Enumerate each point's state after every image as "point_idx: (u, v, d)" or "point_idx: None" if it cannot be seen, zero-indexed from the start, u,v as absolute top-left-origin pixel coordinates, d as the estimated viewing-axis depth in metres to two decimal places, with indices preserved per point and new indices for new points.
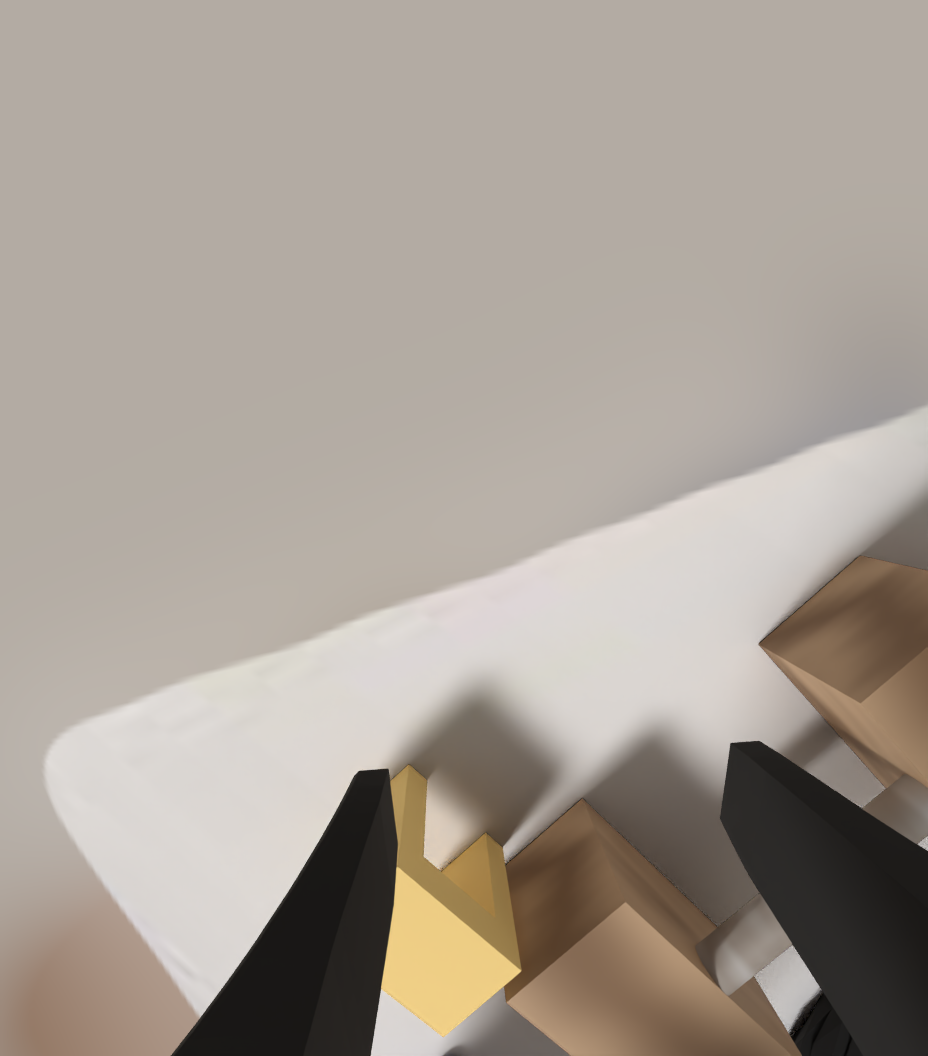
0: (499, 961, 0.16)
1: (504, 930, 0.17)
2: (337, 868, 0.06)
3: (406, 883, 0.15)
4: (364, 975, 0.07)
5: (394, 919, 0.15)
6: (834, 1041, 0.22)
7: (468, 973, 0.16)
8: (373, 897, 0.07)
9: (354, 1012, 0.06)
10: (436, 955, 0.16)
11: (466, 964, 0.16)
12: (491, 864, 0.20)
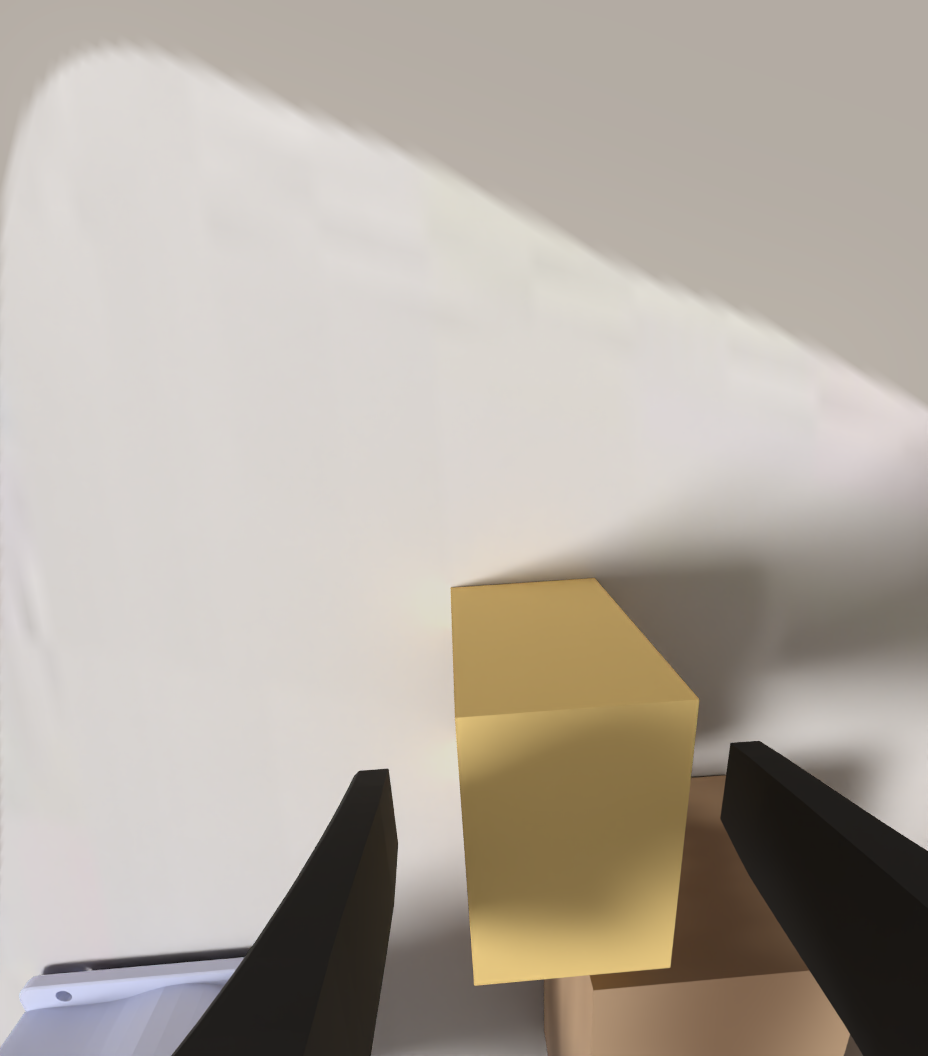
0: (661, 936, 0.09)
1: None
2: (337, 868, 0.07)
3: (680, 736, 0.07)
4: (364, 975, 0.07)
5: (599, 777, 0.08)
6: None
7: (604, 925, 0.08)
8: (373, 897, 0.07)
9: (354, 1012, 0.06)
10: (593, 873, 0.08)
11: (616, 912, 0.08)
12: None
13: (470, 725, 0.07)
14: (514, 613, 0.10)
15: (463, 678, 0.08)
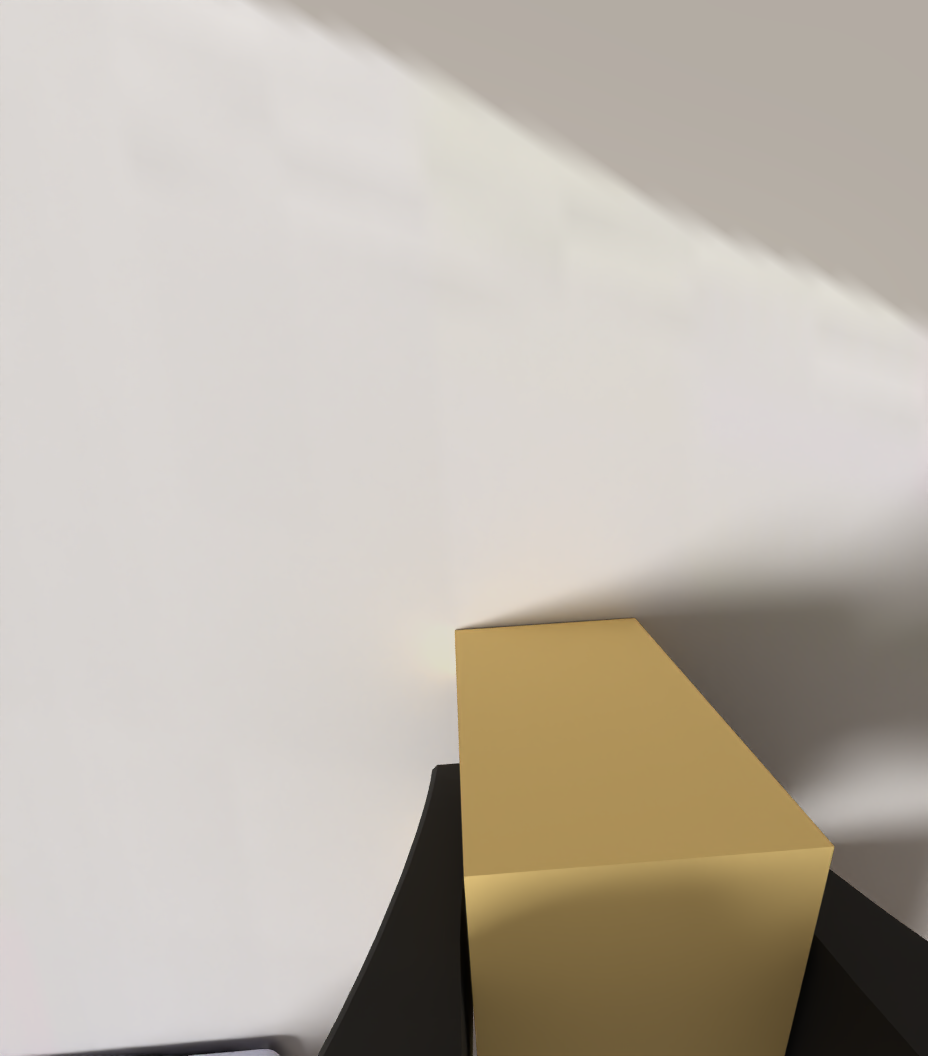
0: None
1: None
2: (443, 859, 0.07)
3: (800, 896, 0.05)
4: (468, 966, 0.07)
5: (675, 949, 0.05)
6: None
7: None
8: None
9: (467, 1002, 0.06)
10: None
11: None
12: None
13: (487, 886, 0.05)
14: (538, 673, 0.08)
15: (474, 791, 0.06)
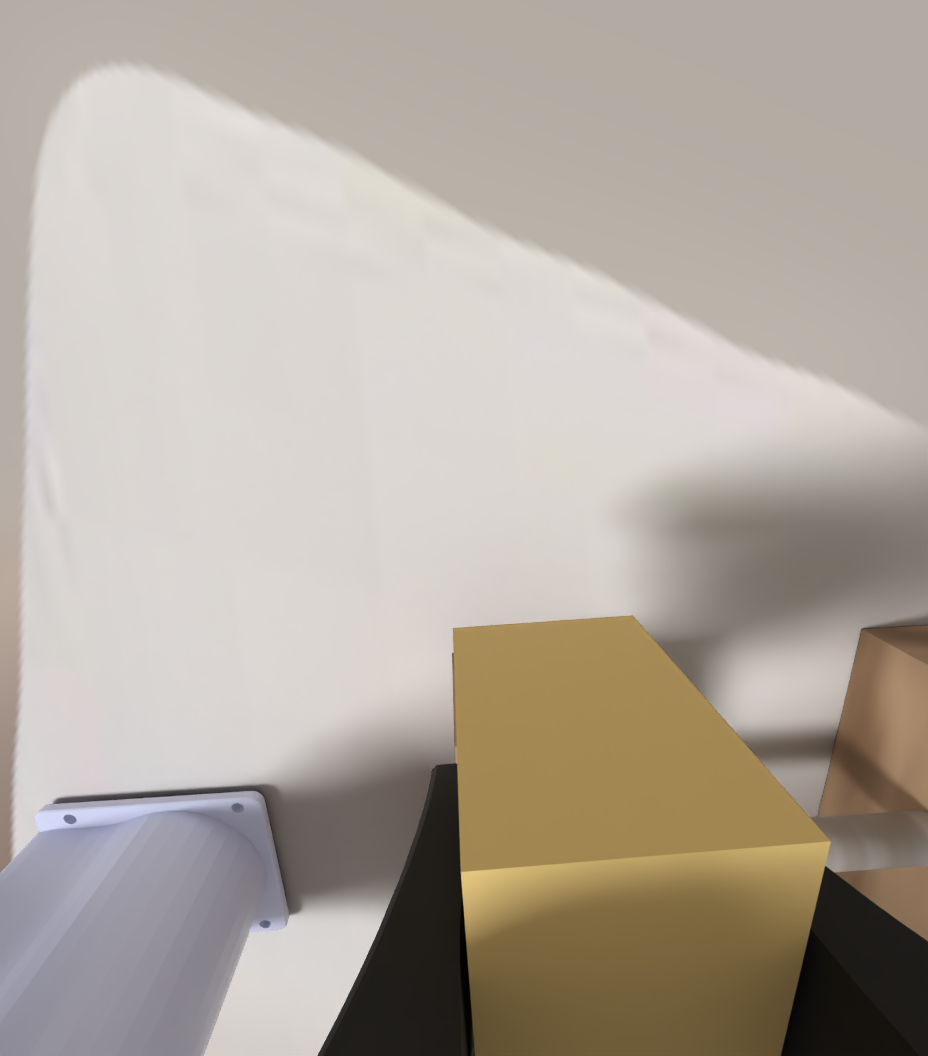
0: None
1: None
2: (443, 860, 0.07)
3: (797, 890, 0.05)
4: None
5: (672, 945, 0.05)
6: None
7: None
8: None
9: (467, 1002, 0.06)
10: None
11: None
12: None
13: (484, 882, 0.05)
14: (536, 670, 0.08)
15: (472, 788, 0.06)
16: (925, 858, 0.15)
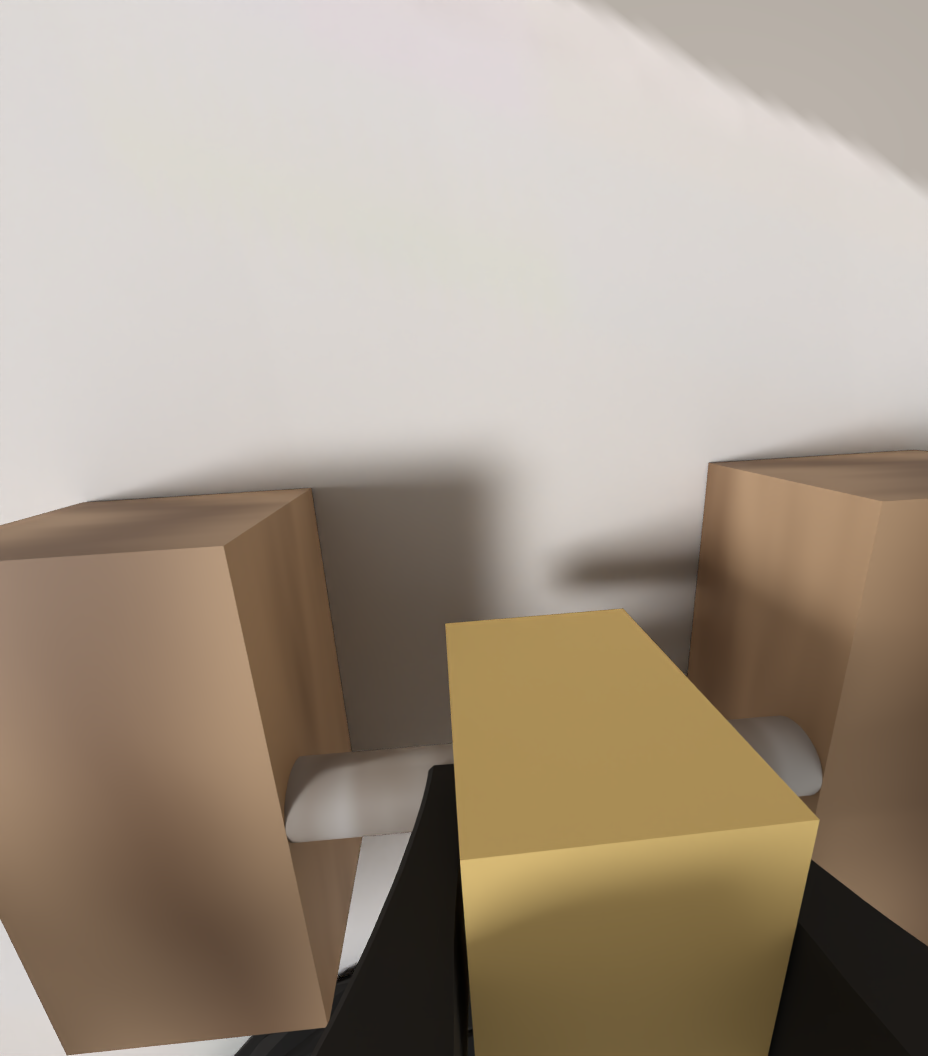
0: None
1: None
2: (438, 860, 0.07)
3: (787, 869, 0.05)
4: (463, 967, 0.07)
5: (668, 927, 0.05)
6: None
7: None
8: None
9: (461, 1003, 0.06)
10: (652, 1046, 0.06)
11: None
12: None
13: (483, 869, 0.05)
14: (529, 663, 0.08)
15: (468, 778, 0.06)
16: None
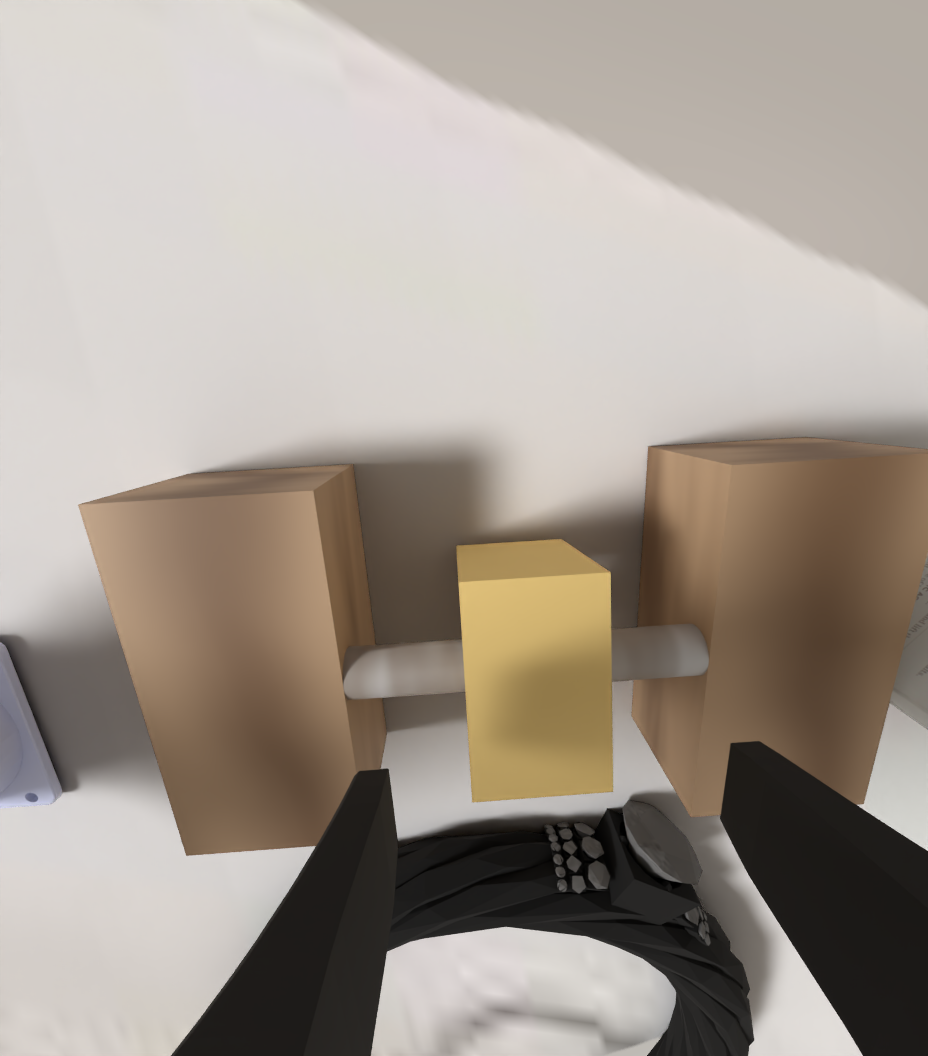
0: (604, 762, 0.12)
1: None
2: (337, 868, 0.07)
3: (601, 598, 0.12)
4: (364, 975, 0.07)
5: (551, 628, 0.12)
6: (404, 869, 0.20)
7: (563, 751, 0.12)
8: (373, 897, 0.07)
9: (354, 1012, 0.06)
10: (552, 705, 0.12)
11: (570, 739, 0.12)
12: None
13: (468, 587, 0.11)
14: (500, 552, 0.15)
15: (464, 572, 0.12)
16: (671, 663, 0.13)
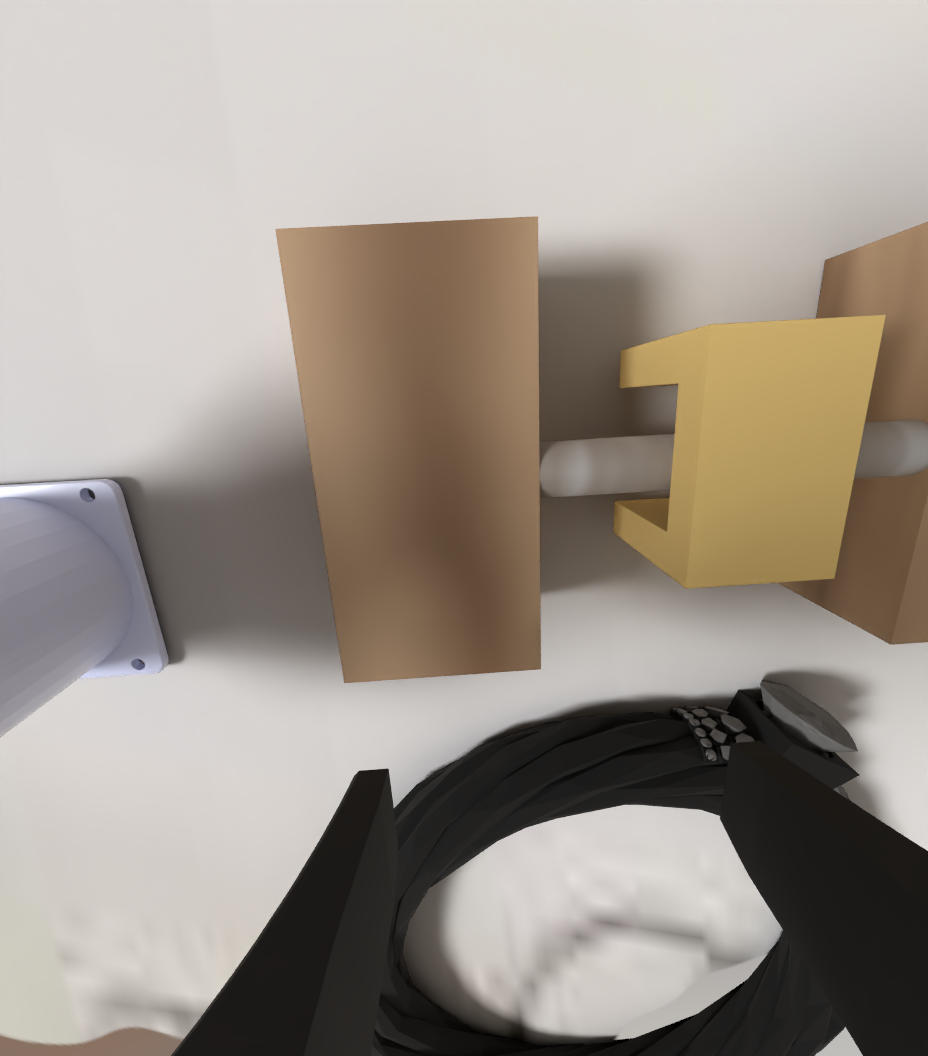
0: (831, 546, 0.11)
1: None
2: (337, 868, 0.06)
3: (868, 349, 0.10)
4: (364, 975, 0.07)
5: (804, 386, 0.10)
6: (534, 745, 0.18)
7: (790, 532, 0.11)
8: (373, 897, 0.07)
9: (354, 1012, 0.06)
10: (788, 479, 0.11)
11: (800, 519, 0.11)
12: None
13: (720, 331, 0.10)
14: None
15: None
16: (897, 451, 0.12)
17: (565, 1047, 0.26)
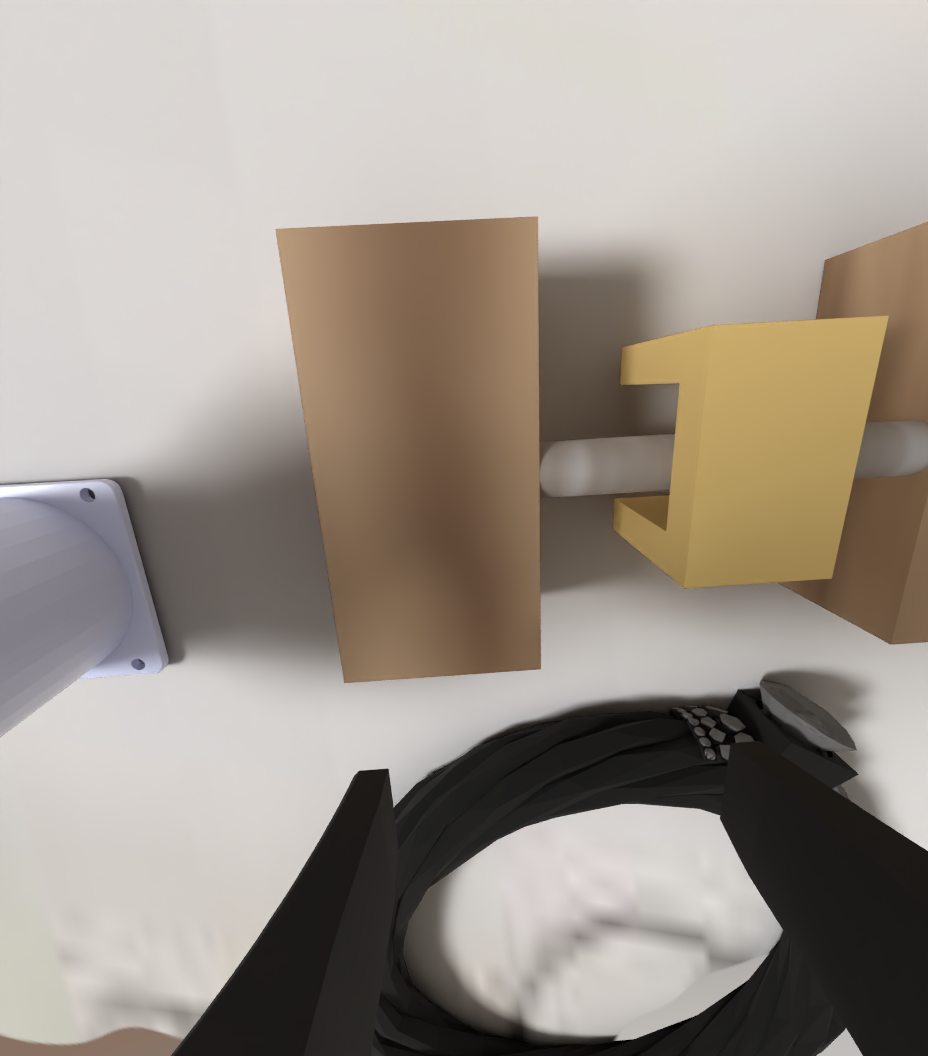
0: (829, 547, 0.11)
1: None
2: (337, 868, 0.06)
3: (870, 350, 0.10)
4: (364, 975, 0.07)
5: (805, 387, 0.10)
6: (533, 744, 0.18)
7: (789, 533, 0.11)
8: (373, 897, 0.07)
9: (354, 1012, 0.06)
10: (788, 480, 0.11)
11: (799, 520, 0.11)
12: None
13: (722, 332, 0.10)
14: None
15: None
16: (897, 451, 0.12)
17: (565, 1047, 0.26)
